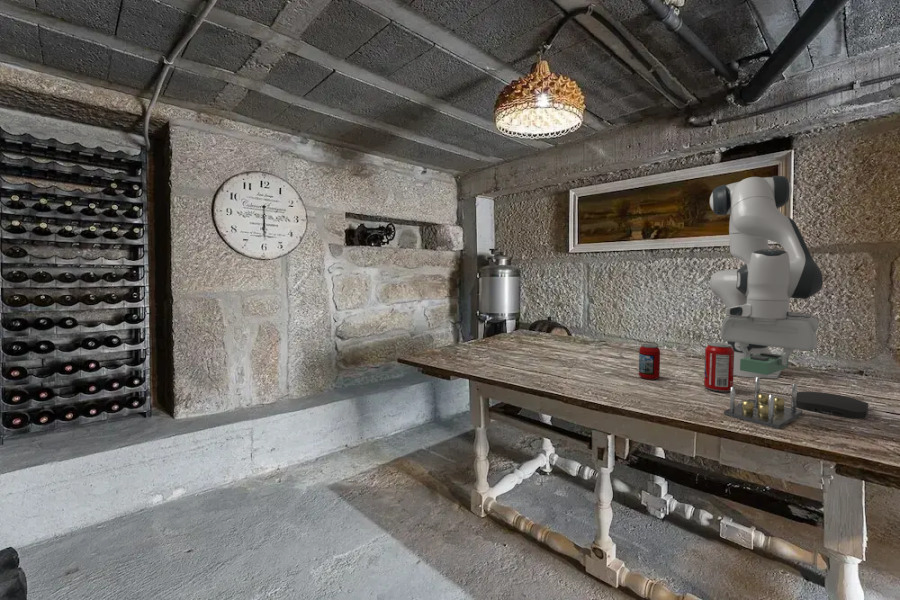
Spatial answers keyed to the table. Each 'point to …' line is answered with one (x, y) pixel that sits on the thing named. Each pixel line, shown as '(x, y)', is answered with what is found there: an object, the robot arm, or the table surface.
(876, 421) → the table surface
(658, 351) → the beverage can
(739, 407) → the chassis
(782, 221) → the robot arm
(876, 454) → the table surface
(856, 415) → the media streaming box
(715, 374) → the soda can
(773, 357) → the board
